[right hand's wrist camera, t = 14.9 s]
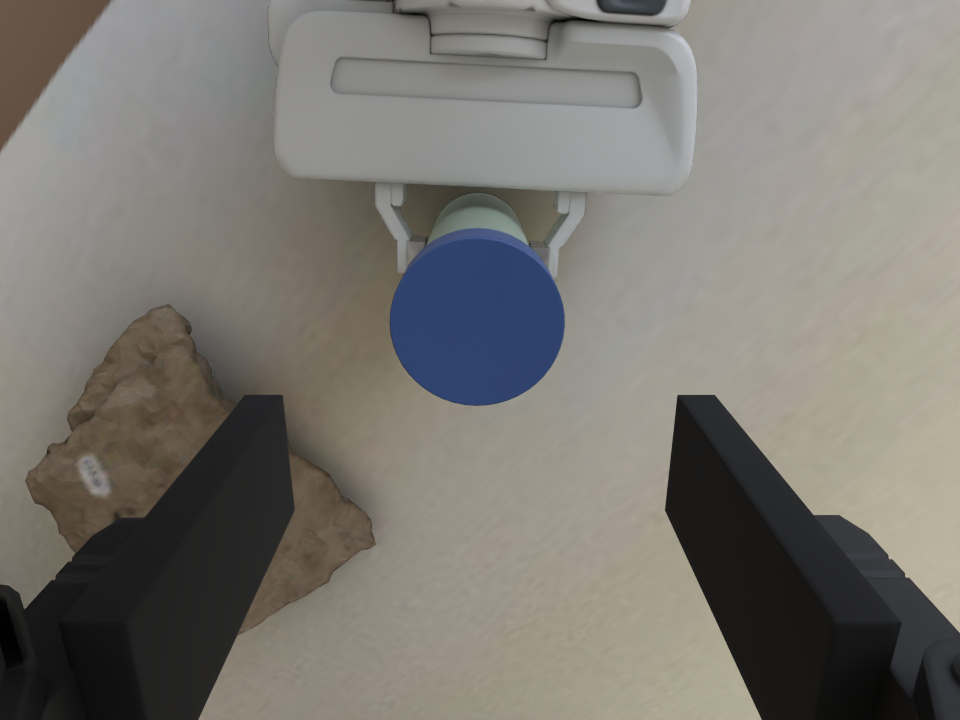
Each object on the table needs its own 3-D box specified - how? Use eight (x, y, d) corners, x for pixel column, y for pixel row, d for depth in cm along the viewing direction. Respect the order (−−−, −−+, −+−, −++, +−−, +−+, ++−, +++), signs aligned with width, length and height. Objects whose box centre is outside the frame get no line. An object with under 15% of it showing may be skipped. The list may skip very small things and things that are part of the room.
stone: (-20, 437, 42) (-63, 485, 37) (169, 287, 42) (154, 313, 37) (225, 622, 51) (220, 683, 46) (379, 498, 51) (393, 543, 46)
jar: (414, 246, 42) (372, 333, 25) (469, 173, 40) (464, 214, 23) (484, 299, 43) (488, 418, 26) (540, 231, 41) (583, 310, 24)
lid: (365, 321, 27) (355, 339, 24) (463, 192, 25) (462, 200, 23) (489, 412, 28) (490, 436, 26) (591, 295, 26) (601, 311, 24)
